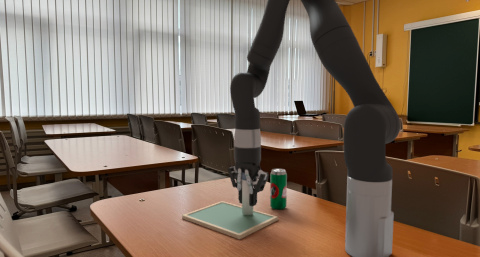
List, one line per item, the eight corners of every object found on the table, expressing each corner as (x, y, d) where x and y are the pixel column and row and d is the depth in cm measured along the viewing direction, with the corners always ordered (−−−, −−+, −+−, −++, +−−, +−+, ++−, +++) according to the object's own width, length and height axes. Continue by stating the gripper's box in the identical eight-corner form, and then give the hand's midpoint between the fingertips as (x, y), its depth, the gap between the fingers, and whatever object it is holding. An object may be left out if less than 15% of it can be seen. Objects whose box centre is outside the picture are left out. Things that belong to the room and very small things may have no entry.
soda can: (285, 211, 104) (286, 172, 102) (269, 209, 105) (269, 171, 103) (286, 205, 109) (287, 168, 107) (271, 204, 110) (271, 167, 108)
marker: (256, 212, 98) (256, 171, 97) (248, 216, 96) (248, 174, 95) (247, 210, 101) (246, 170, 99) (239, 213, 98) (239, 172, 97)
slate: (277, 220, 96) (277, 216, 96) (239, 239, 84) (239, 235, 84) (222, 204, 110) (222, 201, 110) (182, 218, 98) (182, 215, 98)
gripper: (275, 145, 94) (275, 206, 96) (237, 140, 104) (237, 196, 105) (259, 148, 89) (259, 213, 91) (220, 143, 98) (220, 202, 100)
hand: (247, 203), depth 98 cm, fingers closed on marker, 3 cm apart
